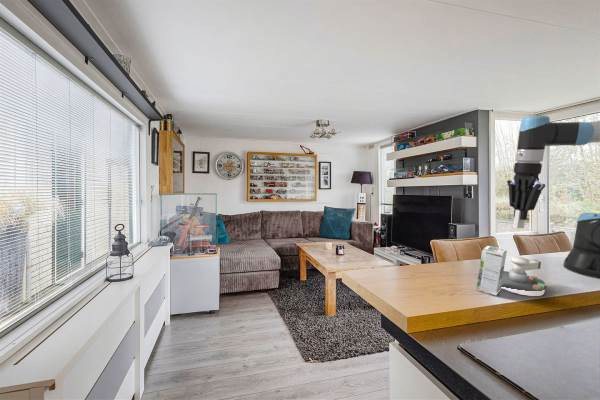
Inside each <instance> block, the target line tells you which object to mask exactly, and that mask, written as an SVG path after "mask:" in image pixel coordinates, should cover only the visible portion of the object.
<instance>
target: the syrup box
mask: <svg viewBox="0 0 600 400" xmlns="http://www.w3.org/2000/svg"><path fill="white" fill-rule="evenodd" d="M480 257H481V258H480V264H479V268H478V269H479V270H478V275H477V282H476V289H479V290H484V291H489V292H495V293H497V292H498V291H499V290H500V291H501V290H502V289H501V283H502V277H503V271H505V263H506V259H507V249H504V248H501V247H497V246H493V245H487V246H485V247H484V248H483V249H482V251H481V256H480ZM476 289H475V290H476Z"/></svg>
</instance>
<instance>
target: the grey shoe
mask: <svg viewBox="0 0 600 400" xmlns="http://www.w3.org/2000/svg"><path fill="white" fill-rule="evenodd" d="M501 287H506V288H511V289H517V290H525V291H542V290H545V289H546V288H547V287H546V282H545V281H544V280H543V279H541V278H539V277H538V276H535V275H528V273H527V272H525V273H524V274H521V273H516V272H514V271H512V269H510V270H509V271H508V270H507V271H505V270H504V271H503V277H502V283H501ZM546 290H547V289H546ZM546 290H545V291H546Z"/></svg>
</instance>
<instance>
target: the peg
mask: <svg viewBox="0 0 600 400" xmlns="http://www.w3.org/2000/svg"><path fill="white" fill-rule="evenodd" d="M510 262H511V263H512V269H511V270H512V271H514V272H516V273H521V274H524V273H526V271H531V270H532V271H533V270H540V269H541V265H542V261H539V260H537V259H533V260H529V259H528V258H525V257H522V256H512V257H511V260H510Z"/></svg>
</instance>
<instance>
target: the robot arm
mask: <svg viewBox="0 0 600 400" xmlns="http://www.w3.org/2000/svg"><path fill="white" fill-rule="evenodd" d="M593 143H600V121H599V120H598V121H587V122H584V121H583V122H582V121H570V122H565V121H564V122H552V121H551V120H550V117H549V116H547V115H533V116H526V117H523V118H522V119H521V122H520V126H519V130H518V140H517V146H516V152H515V153H516V155H515V161H516V162H515V163H514V166H513V173H514V174H515V175H514V176H513V178H512V179H511V180H509V179H508V180H507V181H506V183H507V186H508V197H509V207H511V208H513V209H514V210H513V218H514V220H513V225H512V227H513V228H515V229H524V228H525V224H526V220H527V219H528V212H529V211H535V208H536V206H537V203H538V201H539V197H540V196H541V194H542V191H543V190H544V189H545V187H546V183H541V181H540V178H539V175H541V173H542V168H543V163H541V162H543V161H544V154H545V149H546V147H554V146H555V147H558V146H561V147H562V146H585V145H587V144H593ZM576 223H577V224H576V227H575V235H574V240H573V244H572V249H571V251H570V252H569V253H568V255H567V256H566V257H565V259H564V260H563V267H564V268H565V269H567V270H569V271H571V272H573V273H576V274H579V275H583V276H586V277H590V278H595V277H596V278H595V279H600V213H597V212H596V213H593V212H583V213H580V214H579V215H578V219H577V221H576Z"/></svg>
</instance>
